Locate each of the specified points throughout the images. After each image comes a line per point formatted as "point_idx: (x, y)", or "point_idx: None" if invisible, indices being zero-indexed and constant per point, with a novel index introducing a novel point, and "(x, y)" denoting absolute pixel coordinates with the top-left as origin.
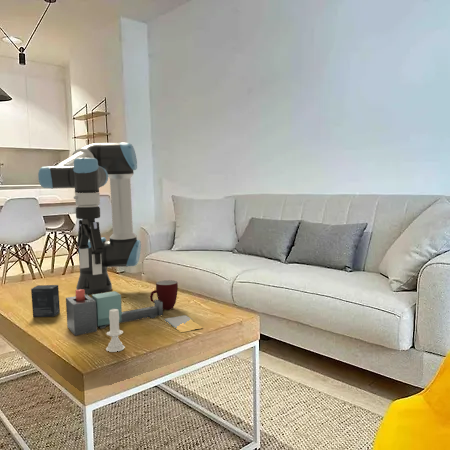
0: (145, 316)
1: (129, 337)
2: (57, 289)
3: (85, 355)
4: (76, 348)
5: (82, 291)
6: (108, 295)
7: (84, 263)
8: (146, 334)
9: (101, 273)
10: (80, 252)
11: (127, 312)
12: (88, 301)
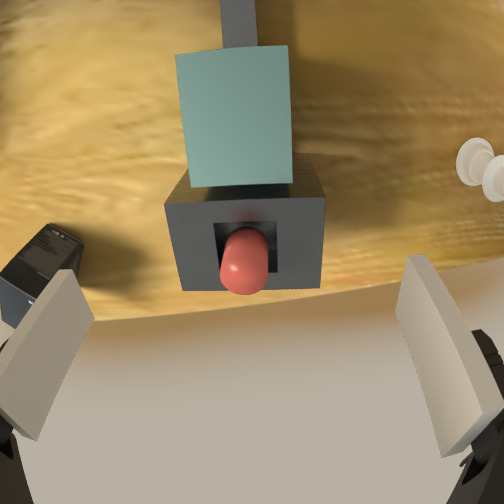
0: None
1: (428, 89)
2: (12, 270)
3: (459, 233)
4: (407, 240)
5: (266, 268)
6: (261, 111)
7: (69, 322)
8: (433, 35)
9: (426, 260)
10: (44, 417)
11: (246, 17)
12: (311, 228)
